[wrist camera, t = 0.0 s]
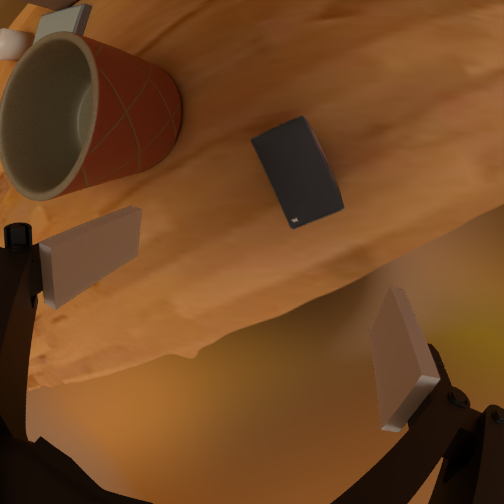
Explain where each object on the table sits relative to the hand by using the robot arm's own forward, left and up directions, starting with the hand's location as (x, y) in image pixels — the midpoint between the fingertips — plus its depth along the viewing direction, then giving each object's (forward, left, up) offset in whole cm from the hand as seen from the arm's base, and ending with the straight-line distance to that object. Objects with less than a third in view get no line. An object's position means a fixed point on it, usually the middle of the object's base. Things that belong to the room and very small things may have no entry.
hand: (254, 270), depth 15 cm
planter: (-5, -27, -28) cm, 40 cm away
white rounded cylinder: (-20, -64, -28) cm, 73 cm away
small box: (-3, 0, -28) cm, 28 cm away
